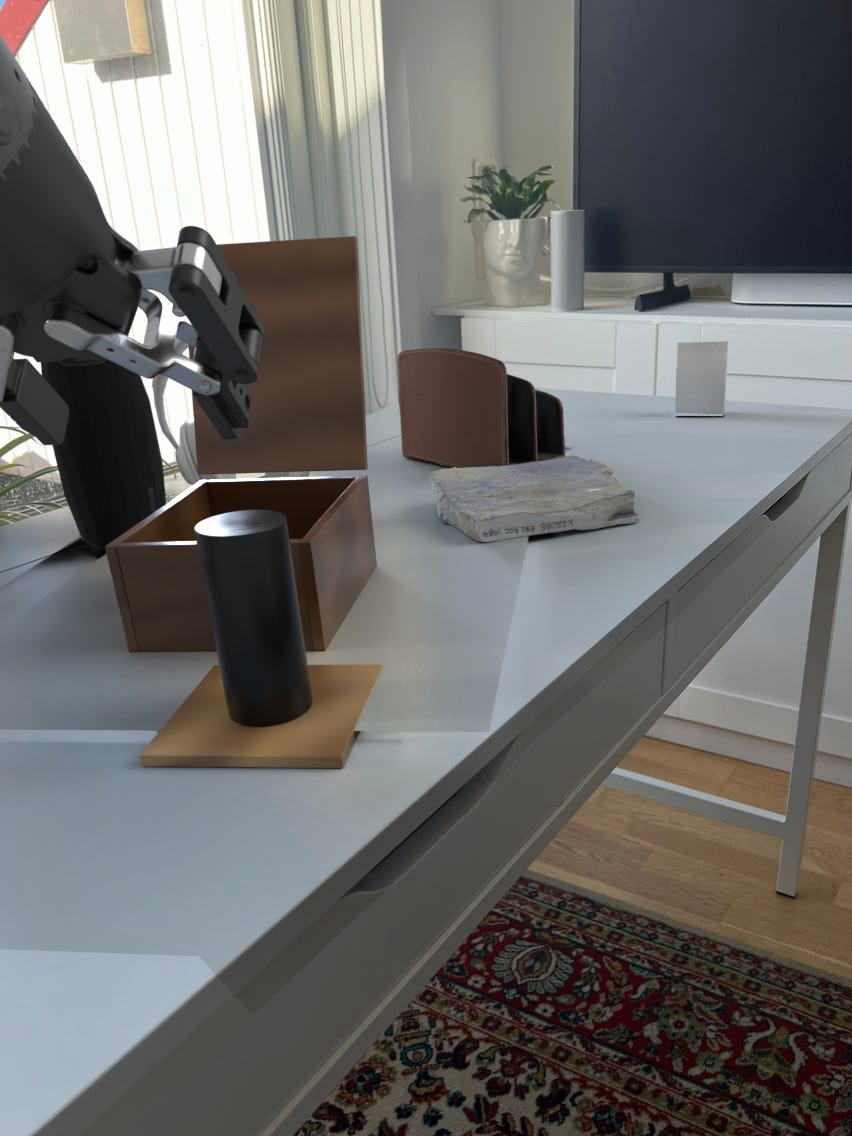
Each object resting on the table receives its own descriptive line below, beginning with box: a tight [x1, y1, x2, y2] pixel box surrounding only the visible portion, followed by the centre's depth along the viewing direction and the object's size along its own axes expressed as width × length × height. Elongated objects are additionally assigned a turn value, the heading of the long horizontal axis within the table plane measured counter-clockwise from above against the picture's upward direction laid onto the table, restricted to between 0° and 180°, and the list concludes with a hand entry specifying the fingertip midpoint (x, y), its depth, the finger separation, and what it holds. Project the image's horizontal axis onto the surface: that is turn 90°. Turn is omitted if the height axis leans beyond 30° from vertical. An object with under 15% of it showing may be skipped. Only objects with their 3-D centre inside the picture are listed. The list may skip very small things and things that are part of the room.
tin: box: [194, 510, 313, 727], centre depth 57 cm, size 5×5×12 cm
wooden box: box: [105, 474, 378, 653], centre depth 75 cm, size 18×15×9 cm
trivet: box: [139, 663, 385, 769], centre depth 60 cm, size 12×12×1 cm
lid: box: [188, 235, 368, 475], centre depth 79 cm, size 18×15×1 cm
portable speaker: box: [40, 358, 167, 558], centre depth 91 cm, size 9×9×20 cm
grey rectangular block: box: [674, 340, 729, 415], centre depth 135 cm, size 4×7×10 cm, turn 75°
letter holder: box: [396, 347, 566, 468], centre depth 116 cm, size 10×20×14 cm, turn 42°
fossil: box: [429, 455, 640, 543], centre depth 97 cm, size 20×5×17 cm
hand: (146, 425), depth 44 cm, fingers open, 8 cm apart
